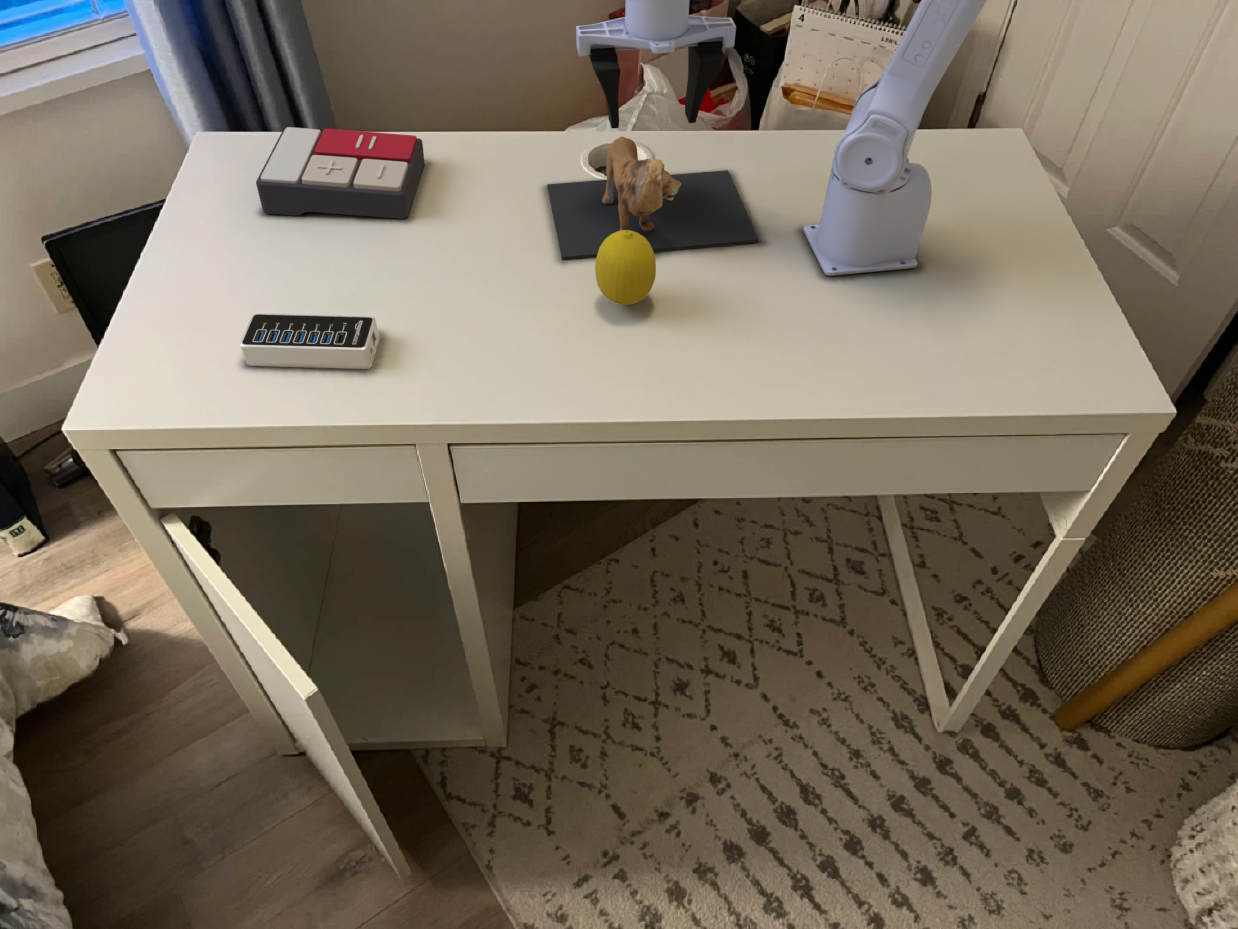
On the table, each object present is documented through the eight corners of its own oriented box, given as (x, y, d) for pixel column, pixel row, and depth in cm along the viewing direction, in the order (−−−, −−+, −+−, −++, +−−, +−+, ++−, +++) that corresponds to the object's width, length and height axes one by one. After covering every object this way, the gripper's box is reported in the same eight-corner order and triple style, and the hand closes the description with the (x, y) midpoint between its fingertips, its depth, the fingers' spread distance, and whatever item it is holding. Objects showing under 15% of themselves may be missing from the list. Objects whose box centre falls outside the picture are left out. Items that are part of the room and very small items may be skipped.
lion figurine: (681, 247, 94) (687, 167, 87) (632, 259, 92) (635, 178, 86) (624, 172, 103) (626, 93, 96) (579, 182, 101) (577, 102, 94)
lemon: (648, 326, 86) (651, 254, 80) (589, 317, 87) (588, 245, 81) (658, 289, 90) (662, 217, 84) (602, 281, 91) (602, 210, 85)
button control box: (403, 188, 94) (252, 176, 94) (407, 224, 97) (261, 213, 97) (422, 131, 101) (282, 120, 101) (425, 167, 105) (290, 156, 104)
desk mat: (727, 173, 104) (728, 169, 103) (758, 242, 95) (758, 239, 95) (547, 187, 101) (547, 183, 101) (562, 260, 93) (562, 256, 93)
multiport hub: (259, 332, 85) (252, 312, 83) (380, 335, 85) (376, 316, 83) (245, 365, 82) (238, 345, 80) (371, 369, 82) (366, 349, 80)
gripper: (582, -2, 79) (584, 146, 89) (750, -10, 80) (733, 136, 91) (571, -35, 83) (575, 109, 94) (731, -43, 85) (717, 100, 95)
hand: (652, 120), depth 92 cm, fingers open, 7 cm apart
